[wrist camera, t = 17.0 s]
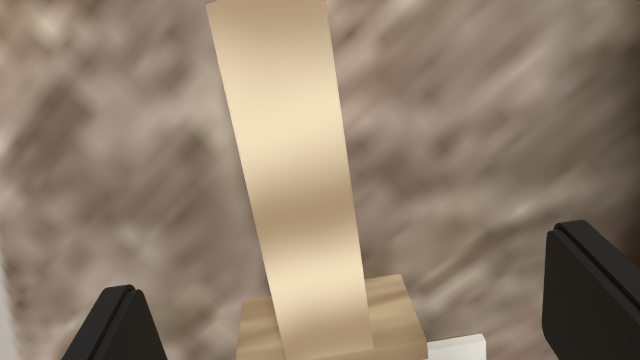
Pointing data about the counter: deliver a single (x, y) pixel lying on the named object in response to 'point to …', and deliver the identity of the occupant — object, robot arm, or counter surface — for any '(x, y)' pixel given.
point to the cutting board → (458, 348)
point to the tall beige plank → (302, 193)
